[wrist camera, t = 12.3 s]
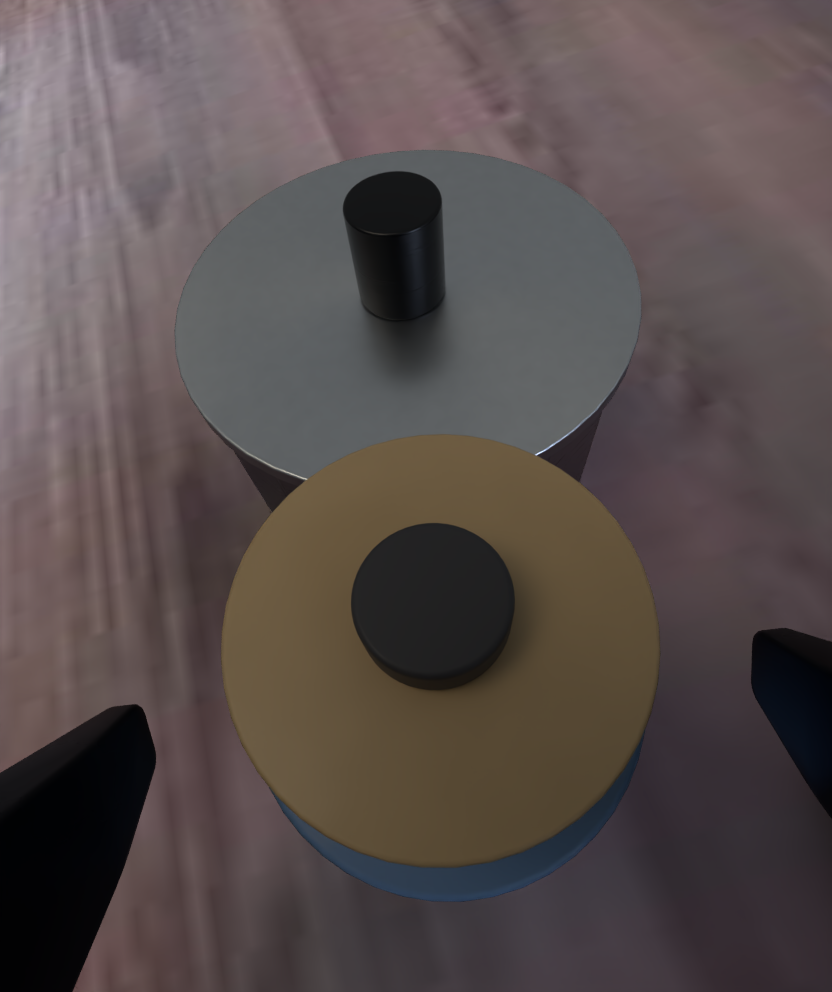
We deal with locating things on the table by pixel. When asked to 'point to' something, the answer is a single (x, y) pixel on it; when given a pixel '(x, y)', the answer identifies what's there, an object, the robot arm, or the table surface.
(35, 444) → the table surface
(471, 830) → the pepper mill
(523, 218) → the pot lid
